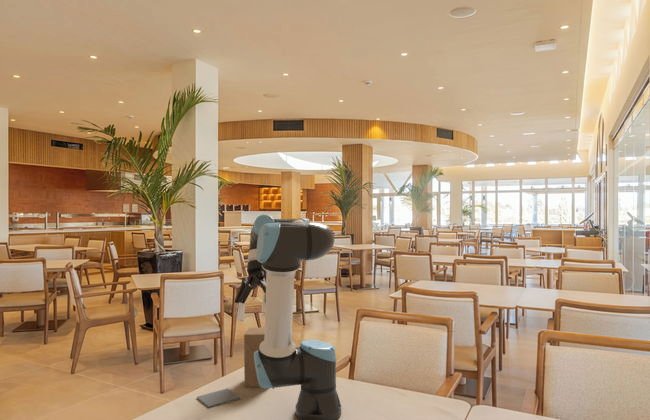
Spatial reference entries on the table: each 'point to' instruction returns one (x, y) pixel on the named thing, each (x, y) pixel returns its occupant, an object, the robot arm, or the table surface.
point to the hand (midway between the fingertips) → (252, 316)
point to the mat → (218, 398)
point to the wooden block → (252, 354)
